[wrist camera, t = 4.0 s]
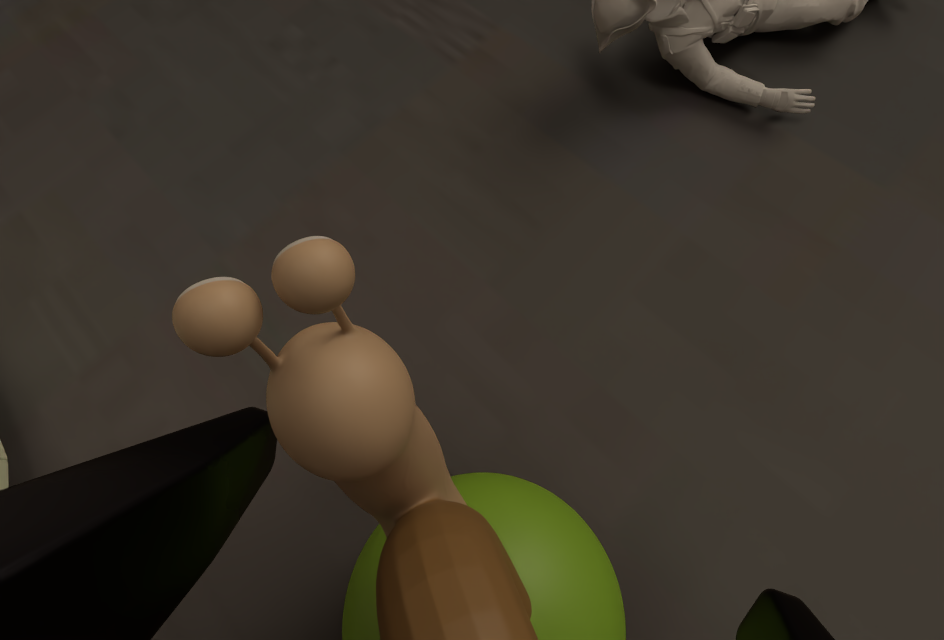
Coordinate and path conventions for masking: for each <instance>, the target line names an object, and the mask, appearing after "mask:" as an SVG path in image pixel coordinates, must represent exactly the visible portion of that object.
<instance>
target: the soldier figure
mask: <svg viewBox="0 0 944 640" xmlns="http://www.w3.org/2000/svg"><path fill="white" fill-rule="evenodd" d="M867 1H868V0H592V15H593V21H594V26H595V30H596V35H597V41H598V46H599V54H600V53H601V51H602V50H603V49H605V47H606V46H608V45H609V44H610V43H612V42H613V41H614V40H616V39H618V38H619V37H621V36H623V35H625V34H627V33H630V32H632V31H634V30H635V29H637V28H638V27H639V26H640V25H641V24H642V22H643V21H644V20H646V21H648V22H650V23H649V25H648V27H649V30H651V31H653V32H654V33H655V36H656V39H657V44H658V48H659V51H660V53H661V56H662V58H663V59H665V60H667V61H668V62H669V63H670V64H671V65H672V66H673V68H674V69H679V70H680V71H681V73H682V74H683V75H684V76H685V77H686V78H688V79H689V80H690V81H691V82H694V83H695V84H696V86H697V87H699V88H700V89H701V90H703V91H707V92H709V93H710V94H713V95H717V96H719V97H721V98H723V99H726V100H729V101H733V102H737V103H743V104H747V105H751V106H753V107H755V108H756V107H757V105H760V106H763V107H766V108H771V109H773V110H775V111H777V112H789V113H799V114H801V113H809V112H810V111H811V110H810V109H799V108H795V107H805V108H808V107H814V105H815V104H814V103H802V102H796V101H814V100H815V97H812V96H802V95H797V94H810V93H811V92H812V91H811V90H810V89H783V88H781V89H769V88H766V87H764V86H765V85H764V84H762V83H759V82H757V81H753V80H751V79H749V78H747V77H744V76H741V75H739V74H737V73H735V72H734V71H733V70H731V69H728V68H727V67H725V66H721V65H717V63H716V62H714V59H713V58H712V56H711V54H710V52H709V51H708V50H707V48H706V47H705V45H704V43H703V38H706V37H709V38H712V42H713V43H727V42H729V41H730V40H732V39H734V38H736V37H738V36H744V35H749V34H751V33H753V32H772V31H780V30H796V29H801V28H804V27H808V26H811V25H815V24H818V23H821V22H826V21H827V22H829V23H831V24H833V25H839V24H840V23H841V22H842V21H843V22H849V21H851V20H853V19H854V18H856V17H857V16H858V15H859V14H860V13H861V12H862V10H863V8H864V6H865V4H866V3H867ZM714 33H717V34H715V35H713V34H714Z"/></svg>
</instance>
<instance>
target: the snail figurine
mask: <svg viewBox="0 0 944 640" xmlns="http://www.w3.org/2000/svg"><path fill="white" fill-rule="evenodd" d="M354 281H355V268H354V264H353V261H352V258H351V256H350V255H349V253H348V251H347V250H346V249H345V248H344V247H343V246H342V245H341V244H340V243H338V242H336V241H334V240H332V239H330V238H327V237H323V236H312V237H307V238H303V239H300V240H297V241H295V242H293V243H291V244H289V245H288V246H286V247H285V248H284V249H283V250H282V251H281V252H280V253H279V254H278V255H277V257H276V258H275V260H274V264H273V268H272V283H273V286H274V288H275V291H276V293H277V294H278V296H279V297H280V298H281V300H282V301H283V302H284V303H285V304H287V305H288V306H289V307H291V308H292V309H294V310H296V311H299V312H302V313H306V314H322V313H326V312H329V311H332V312H333V314H334V316H335V318H336V320H337V322H327V323H321V324H317V325H313V326H310V327H308V328H306V329H304V330H302V331H301V332H299V333H297V334H296V335H295V336H294V337H292V338H291V339H290V340H289V341H288V342H287V343H286V344H285V346H284V347H283V348H282V350H281V351H280V352H279V354H278V356H276V355H275V354H274V353H273V352H272V351H271V350H270V349H269V348H268V347H267V346H266V345H264V344H263V343H262V342H261V341H260V340H259V339H258V338H257V335H258V333H259V331H260V329H261V326H262V321H263V310H262V305H261V302H260V300H259V298H258V296H257V294H256V293H255V292H254V290H253V289H252V288H251V287H249V286H248V285H247V284H245V283H243V282H242V281H240V280H238V279H235V278H231V277H215V278H210V279H207V280H203V281H201V282H198V283H196V284H194V285H192V286H190V287H189V288H188V289H186V290H185V291H184V292H183V293H182V294H181V295H180V296H179V298H178V299H177V301H176V304H175V306H174V308H173V313H172V320H173V325H174V328H175V331H176V333H177V335H178V336H179V338H180V339H181V340H182V342H183V343H184V344H185V345H187V346H188V347H189V348H190V349H192V350H194V351H196V352H198V353H200V354H203V355H207V356H213V357H223V356H229V355H233V354H235V353H238V352H240V351H242V350H243V349H245V348H246V347H248V346H250V347H252V348H253V349H254V350H255V351H256V352H257V353H258V354H259V355H260V356H261V357H262V358H263V360H264V361H265V362H266V363H267V364H268V366H269V367H270V370H271V371H270V375H269V379H268V384H267V393H266V403H267V412H268V417H269V421H270V424H271V427H272V429H273V432H274V434H275V436H276V438H277V440H278V441H279V443H280V445H281V446H282V447H283V449H284V450H285V451H286V453H287V454H288V455H289V456H290V457H291V458H292V459H293V460H294V461H295V462H296V463H298V464H299V465H300V466H301V467H303V468H304V469H306V470H307V471H309V472H311V473H313V474H315V475H317V476H319V477H322V478H325V479H328V480H332V481H335V483H336V484H337V485H338V486H339V487H340V488H341V490H342V491H343V492H344V493H345V494H346V495H347V496H348V497H349V498H350V499H351V500H352V501H353V502H354V503H356V504H357V505H358V506H359V507H361V508H362V509H363V510H365V511H366V512H367V513H369V514H371V515H372V516H373V517H374V518H375V519H376V520H377V521H378V522H379V525H378V526H377V527H376V529H375V530H374V531H373V533H372V534H371V536H370V537H369V539H368V541H367V542H366V544H365V546H364V547H363V549H362V551H361V553H360V555H359V557H358V559H357V562H356V564H355V567H354V569H353V572H352V575H351V578H350V581H349V585H348V588H347V593H346V597H345V603H344V610H343V621H342V640H626V624H625V614H624V607H623V601H622V596H621V592H620V588H619V584H618V581H617V578H616V575H615V572H614V569H613V567H612V565H611V562H610V560H609V558H608V556H607V554H606V552H605V550H604V548H603V547H602V545H601V543H600V542H599V540H598V538H597V537H596V535H595V534H594V533H593V531H592V530H591V529H590V527H589V526H588V525H587V524H586V522H585V521H584V520H583V519H582V518H581V517H580V516H579V515H578V514H577V513H576V512H575V511H574V510H573V509H572V508H571V507H570V506H569V505H568V504H566V503H565V502H564V501H563V500H561V499H560V498H559V497H557V496H556V495H554V494H553V493H551V492H549V491H548V490H546V489H544V488H542V487H540V486H538V485H536V484H534V483H532V482H529V481H527V480H524V479H521V478H518V477H514V476H510V475H505V474H498V473H467V474H461V475H456V476H452V477H451V476H450V474H449V472H448V469H447V466H446V464H445V460H444V456H443V452H442V449H441V446H440V444H439V442H438V439H437V437H436V435H435V433H434V431H433V429H432V427H431V426H430V424H429V422H428V421H427V419H426V417H425V416H424V415H423V413H422V412H421V411H420V409H419V408H418V407H417V406H416V404H415V396H414V390H413V386H412V382H411V379H410V376H409V374H408V371H407V369H406V367H405V365H404V364H403V362H402V360H401V359H400V357H399V356H398V355H397V353H396V352H395V351H394V350H393V349H392V348H391V347H390V346H389V345H388V344H387V343H386V342H385V341H384V340H383V339H381V338H380V337H379V336H377V335H376V334H374V333H372V332H371V331H369V330H367V329H364V328H362V327H359V326H356V325H352V323H351V321H350V320H349V318H348V317H347V315H346V313H345V312H344V310H343V308H342V306H341V304H342V303H343V302H344V301H345V300H346V299H347V298H348V296H349V295H350V293H351V291H352V288H353V285H354Z"/></svg>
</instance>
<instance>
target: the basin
mask: <svg viewBox="0 0 944 640" xmlns="http://www.w3.org/2000/svg"><path fill="white" fill-rule="evenodd" d="M7 460H8V457H7V455H6V452H5V450H4V447H3V445H2V442H1V440H0V490H2V489H5V488H8V487H9V473H8V461H7Z"/></svg>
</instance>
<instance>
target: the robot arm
mask: <svg viewBox="0 0 944 640" xmlns="http://www.w3.org/2000/svg"><path fill="white" fill-rule="evenodd" d="M276 443H277V438H276V436H275V434H274V432H273V429H272V427H271V424H270V421H269V417H268V412H267V411H264V410H262V409H259V408H256V407H248V408H245V409H242V410H239V411H236V412H233V413H230V414H227V415H224V416H221V417H218V418H215V419H212V420H209V421H206V422H203V423H200V424H197V425H194V426H191V427H188V428H185V429H182V430H179V431H176V432H173V433H170V434H167V435H164V436H161V437H158V438H155V439H152V440H149V441H146V442H143V443H140V444H137V445H134V446H131V447H128V448H125V449H122V450H119V451H116V452H113V453H110V454H107V455H104V456H101V457H98V458H95V459H92V460H89V461H86V462H83V463H80V464H77V465H74V466H71V467H68V468H65V469H62V470H59V471H56V472H53V473H50V474H47V475H44V476H41V477H38V478H35V479H32V480H29V481H26V482H23V483H20V484H17V485H14V486H11V487H8V488H5V489H2V490H0V640H151V638H152V637H153V636H154V635H155V633H156V632H157V631H158V630H159V628H160V627H161V626H162V625H163V623H164V622H165V621H166V620H167V618H168V617H169V616H170V615H171V613H172V612H173V611H174V610H175V608H176V607H177V606H178V605H179V603H180V602H181V601H182V599H183V598H184V597H185V596H186V594H187V593H188V592H189V591H190V589H191V588H192V587H193V586H194V584H195V583H196V582H197V581H198V579H199V578H200V577H201V576H202V574H203V573H204V572H205V570H206V569H207V568H208V566H209V565H210V564H211V562H212V561H213V560H214V558H215V557H216V555H217V554H218V552H219V551H220V549H221V548H222V546H223V545H224V543H225V542H226V540H227V538H228V537H229V535H230V534H231V532H232V531H233V529H234V527H235V526H236V524H237V523H238V521H239V520H240V518H241V516H242V515H243V513H244V512H245V510H246V509H247V507H248V506H249V504H250V502H251V501H252V499H253V498H254V496H255V495H256V493H257V491H258V490H259V488H260V487H261V485H262V484H263V482H264V480H265V479H266V477H267V476H268V474H269V472H270V471H271V469H272V466H273V464H274V460H275V454H276ZM736 640H835V639H834V638H833V637H832V636H831V634H830V633H829V632H828V631H827V630H826V628H825V627H824V626H823V625H822V624H821V623H820V621H819V620H818V619H817V618H816V617H815V615H814V614H813V613H812V612H811V611H810V609H809V608H808V607H807V606H806V605H805V604H804V603H803V601H801V600H800V599H799V598H797V597H795V596H792V595H789V594H786V593H783V592H781V591H778V590H775V589H766V590H764V591H763V592H762V593H761V594H760V595H759V597H758V598H757V600H756V601H755V603H754V604H753V606H752V607H751V609H750V610H749V612H748V613H747V615H746V616H745V618H744V619H743V621H742V622H741V624H740V626H739V628H738V630H737V635H736Z"/></svg>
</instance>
